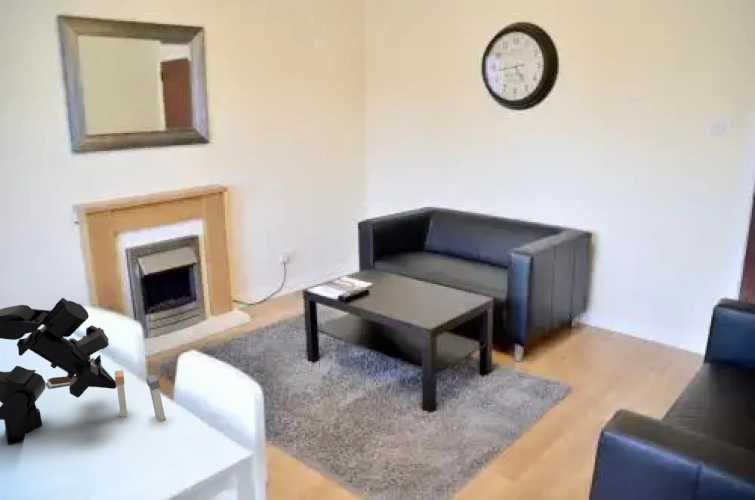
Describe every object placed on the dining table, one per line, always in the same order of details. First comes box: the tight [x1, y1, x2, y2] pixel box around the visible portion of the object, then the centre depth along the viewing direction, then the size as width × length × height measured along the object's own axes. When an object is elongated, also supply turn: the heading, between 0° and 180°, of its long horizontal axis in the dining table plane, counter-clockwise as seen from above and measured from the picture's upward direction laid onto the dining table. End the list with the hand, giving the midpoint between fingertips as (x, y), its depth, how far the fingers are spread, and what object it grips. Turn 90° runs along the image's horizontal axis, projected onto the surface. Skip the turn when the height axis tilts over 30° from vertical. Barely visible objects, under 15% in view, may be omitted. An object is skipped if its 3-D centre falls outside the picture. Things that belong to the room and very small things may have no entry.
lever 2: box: [145, 373, 166, 422], centre depth 137 cm, size 2×3×10 cm, turn 36°
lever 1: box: [114, 369, 128, 418], centre depth 139 cm, size 2×3×10 cm, turn 24°
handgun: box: [45, 375, 75, 390], centre depth 152 cm, size 2×23×12 cm
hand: (116, 386), depth 138 cm, fingers closed, pressing on lever 1
